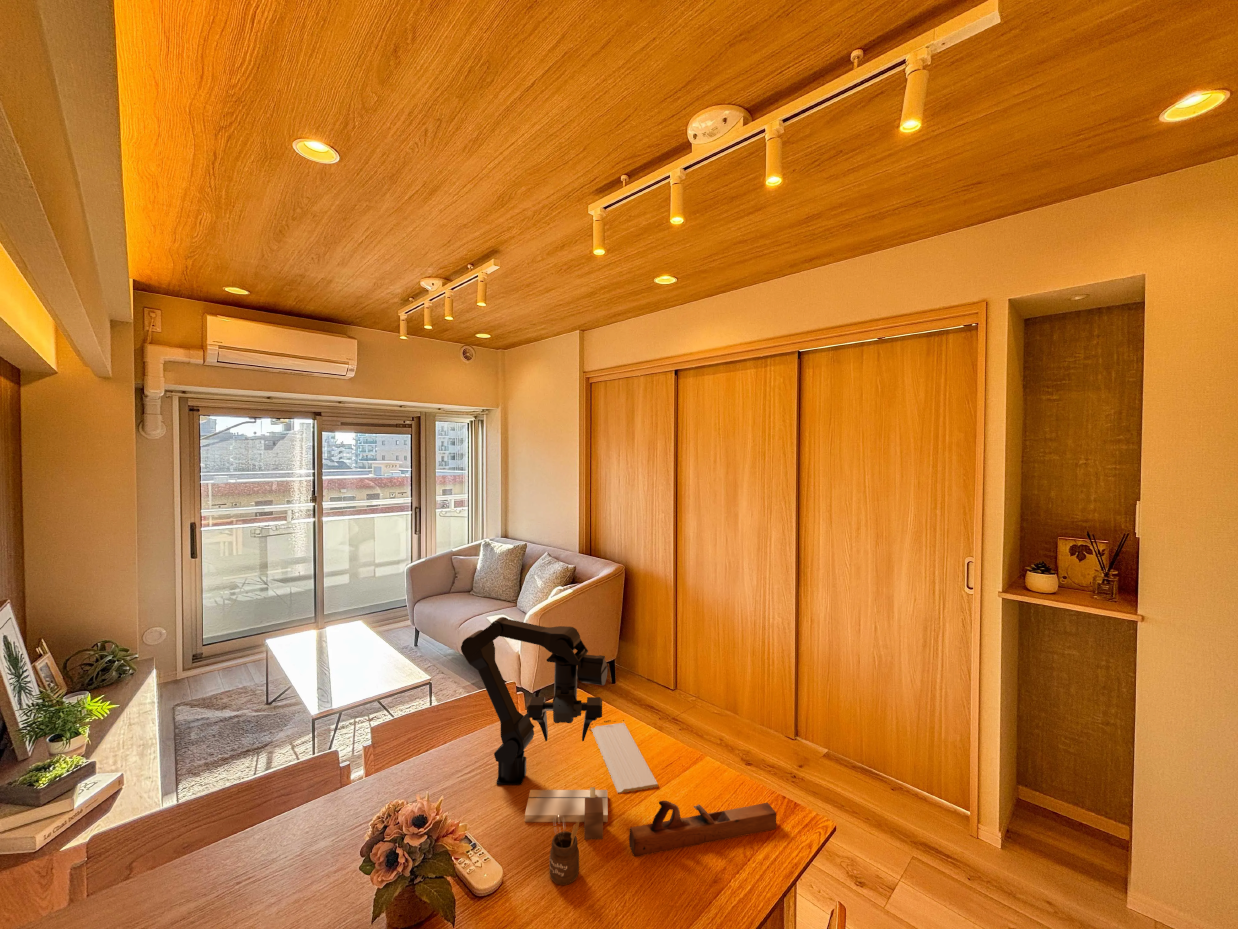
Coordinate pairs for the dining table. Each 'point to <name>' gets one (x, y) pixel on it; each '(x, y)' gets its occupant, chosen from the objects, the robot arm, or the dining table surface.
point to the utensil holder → (564, 856)
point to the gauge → (593, 816)
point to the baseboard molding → (623, 758)
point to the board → (561, 805)
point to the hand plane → (698, 827)
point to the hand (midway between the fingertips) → (564, 740)
